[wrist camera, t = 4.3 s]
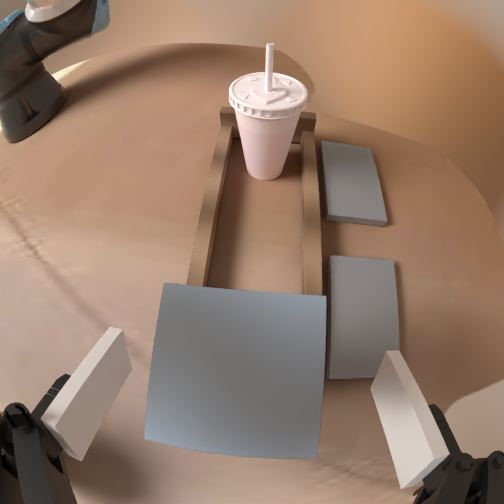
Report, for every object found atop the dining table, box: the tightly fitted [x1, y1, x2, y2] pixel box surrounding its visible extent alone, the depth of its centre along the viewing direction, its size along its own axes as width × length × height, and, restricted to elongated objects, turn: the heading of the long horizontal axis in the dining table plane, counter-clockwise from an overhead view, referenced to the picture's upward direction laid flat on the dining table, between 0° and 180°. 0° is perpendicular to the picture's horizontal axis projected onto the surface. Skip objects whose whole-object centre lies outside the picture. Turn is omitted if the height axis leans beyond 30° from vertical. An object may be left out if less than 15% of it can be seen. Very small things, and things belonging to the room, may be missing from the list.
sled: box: [144, 107, 326, 459], centre depth 17 cm, size 27×10×15 cm, turn 175°
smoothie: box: [229, 43, 308, 180], centre depth 22 cm, size 6×6×14 cm
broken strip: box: [319, 141, 400, 379], centre depth 24 cm, size 24×6×1 cm, turn 175°
